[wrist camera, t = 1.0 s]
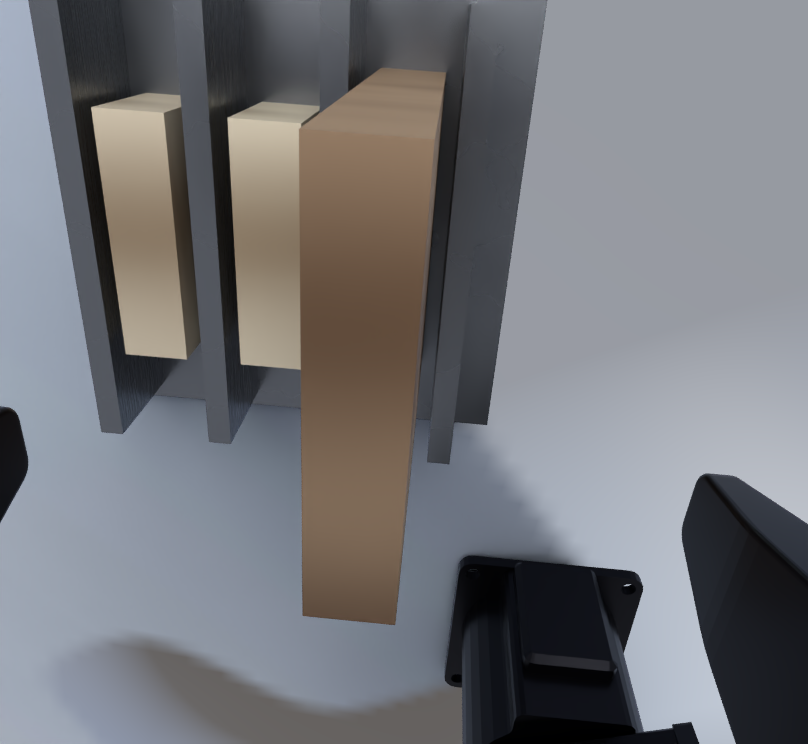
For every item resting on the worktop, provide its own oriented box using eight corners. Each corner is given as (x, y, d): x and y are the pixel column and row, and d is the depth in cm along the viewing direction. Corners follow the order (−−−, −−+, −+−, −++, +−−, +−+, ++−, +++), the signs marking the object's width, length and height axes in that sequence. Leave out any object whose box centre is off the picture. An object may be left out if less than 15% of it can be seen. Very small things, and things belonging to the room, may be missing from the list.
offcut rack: (486, 414, 22) (491, 482, 19) (117, 382, 22) (61, 443, 19) (546, -14, 16) (567, -20, 13) (53, -49, 17) (-42, -63, 14)
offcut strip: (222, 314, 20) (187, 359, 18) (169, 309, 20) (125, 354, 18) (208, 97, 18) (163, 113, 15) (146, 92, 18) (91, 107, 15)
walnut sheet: (421, 361, 21) (395, 625, 12) (368, 357, 21) (302, 616, 12) (446, 72, 17) (434, 139, 8) (381, 67, 17) (298, 128, 8)
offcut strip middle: (322, 322, 20) (302, 369, 18) (268, 318, 20) (240, 364, 18) (324, 106, 17) (300, 123, 15) (262, 101, 17) (227, 117, 15)
